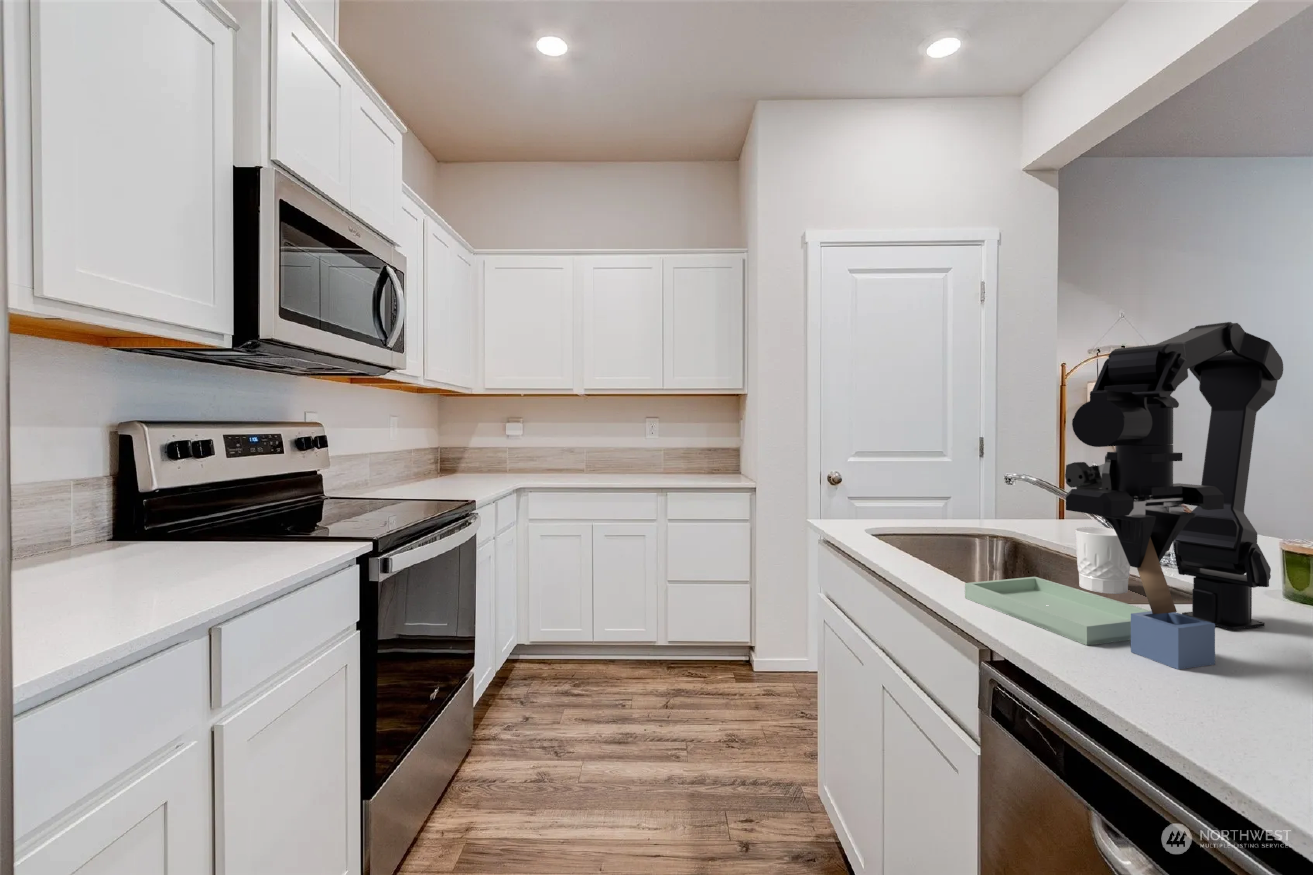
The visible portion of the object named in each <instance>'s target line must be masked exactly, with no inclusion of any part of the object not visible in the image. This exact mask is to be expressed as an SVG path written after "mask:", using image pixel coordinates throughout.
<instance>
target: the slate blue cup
mask: <svg viewBox="0 0 1313 875" xmlns="http://www.w3.org/2000/svg"><path fill="white" fill-rule="evenodd" d="M1130 652H1131V653H1132V654H1135V655H1137V656H1140V657H1144V658H1146V659H1149V660H1152V661H1155V662H1157V663H1160V664H1162V665H1165V666H1168V667H1170V668H1173V669H1176V670H1183V669H1184V670H1185V669H1190V668H1192V667H1193V668H1198V667H1205V666H1212V665H1213V666H1214V665H1216V626H1215V623H1211V622H1208V621H1204V620H1201V619H1197V618H1194V617H1190V616H1187V615H1183V614H1182V613H1179V612H1173V613H1162V614H1152V611H1151V610H1150V611H1149V612H1140V613H1131V640H1130Z"/></svg>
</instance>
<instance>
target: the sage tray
mask: <svg viewBox="0 0 1313 875" xmlns="http://www.w3.org/2000/svg"><path fill="white" fill-rule="evenodd" d="M964 598H965V599H967V600H970V601H972V602H974V603H976V604H979V605H982V606H985V607H987V608H990V609H992V610H995V611H997V612H1000V613H1002V614H1005V615H1008V616H1010V617H1013V618H1015V619H1018V620H1021V621H1023V622H1025V623H1028V624H1031V625H1033V626H1036V627H1039V628H1041V629H1043V630H1047V631H1048V632H1051V633H1053V634H1056V635H1059V636H1062V637H1064V638H1067V639H1069V640H1072V641H1075V642H1076V643H1080V644H1082V645H1085V646H1094V645H1102V644H1109V643H1117V642H1124V641H1125V642H1126V641H1127V642H1128V641H1131V613H1140V612H1149V611H1151V609H1147V608H1142V607H1139V606H1136V605H1132V604H1129V603H1127V602H1123V601H1121V600H1120V601H1119V600H1116V599H1112V598H1109V597H1105V596H1103V595H1099V594H1096V593H1092V592H1088V591H1086V590H1081V589H1079V588H1075V587H1072V586H1069V585H1064V584H1061V583H1057V582H1054V581H1051V580H1048V579H1044V578H1042V577H1038V576H1029V577H1018V578H1007V579H997V580H995V579H994V580H985V581H984V580H983V581H974V582H973V581H972V582H965V583H964ZM1046 605H1049V606H1046Z"/></svg>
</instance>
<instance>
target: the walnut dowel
mask: <svg viewBox="0 0 1313 875" xmlns="http://www.w3.org/2000/svg"><path fill="white" fill-rule="evenodd" d="M1136 569H1137V572H1138V575H1139V579H1140V581H1141V584H1142V587H1143V590H1144V592H1145V595H1146V599H1147V602H1148V604H1149V608H1150V611H1152V614H1162V613H1173V612H1176V613H1178V610H1177V608H1176V605H1175V603H1174V599H1173V597H1172V594H1171V591H1170V588H1169V586H1168V583H1167V580H1166V576H1165V575H1164V574H1165V573H1164V572H1163V569H1162V566H1161V561H1160V562H1159V560H1158V557H1157V554H1156V551H1155V548H1154V546H1153V543H1152V540H1151V537H1150V540H1149V543H1148V546H1147V550H1146V553H1145V557H1144V560H1143V562H1142V564H1141V567H1140V568H1136Z"/></svg>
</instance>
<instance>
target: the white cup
mask: <svg viewBox="0 0 1313 875" xmlns="http://www.w3.org/2000/svg"><path fill="white" fill-rule="evenodd" d="M1074 533H1075V534H1074V536H1075V553H1076V564H1077V571H1078V582H1079V584H1078V585H1079V587H1080V588H1082V589H1083V590H1085V591H1086V590H1087V591H1091V592H1095V593H1101V594H1110V595H1111V594H1112V595H1119V594H1121V595H1122V594H1127V593H1129V592H1128V591H1129V578H1130V573H1131V572H1130V571H1131V566H1130V565H1129V562H1128V560H1127V558H1126V555H1125V553H1124V550H1123V548H1122V546H1121V543H1120V540H1119V538H1118V536H1117V534H1116V532H1115V530H1114V528H1111V527H1110V528H1109V527H1094V526H1089V527H1088V526H1087V527H1086V526H1085V527H1076V528H1075V530H1074Z"/></svg>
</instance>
